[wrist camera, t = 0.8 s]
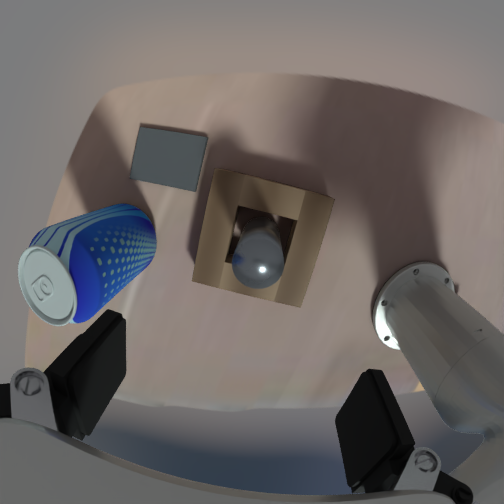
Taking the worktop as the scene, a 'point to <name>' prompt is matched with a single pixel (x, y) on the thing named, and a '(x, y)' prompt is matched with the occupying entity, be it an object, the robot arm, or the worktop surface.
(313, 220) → the pocket block
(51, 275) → the beer can
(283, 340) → the worktop surface
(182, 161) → the mat
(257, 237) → the rod
